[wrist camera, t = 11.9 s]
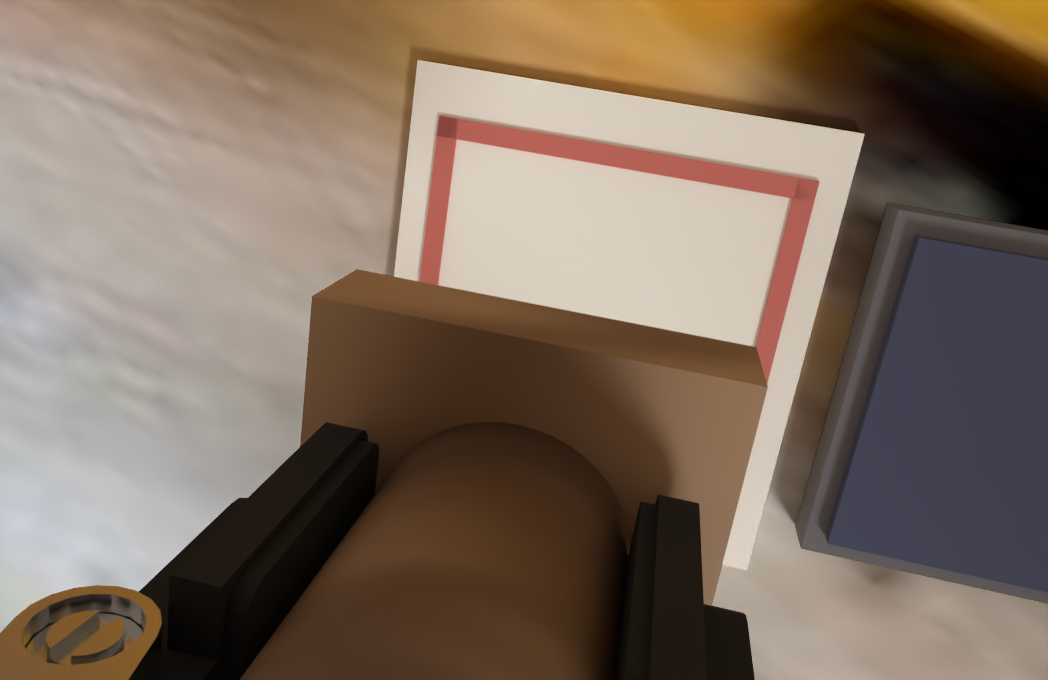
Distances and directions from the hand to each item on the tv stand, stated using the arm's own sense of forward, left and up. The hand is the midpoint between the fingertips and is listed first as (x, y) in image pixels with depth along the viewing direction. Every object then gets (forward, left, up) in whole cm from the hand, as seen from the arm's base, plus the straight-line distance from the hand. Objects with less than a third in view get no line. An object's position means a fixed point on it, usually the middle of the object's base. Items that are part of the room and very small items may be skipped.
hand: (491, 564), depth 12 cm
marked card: (0, 0, -12) cm, 12 cm away
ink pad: (-11, 0, -12) cm, 17 cm away
